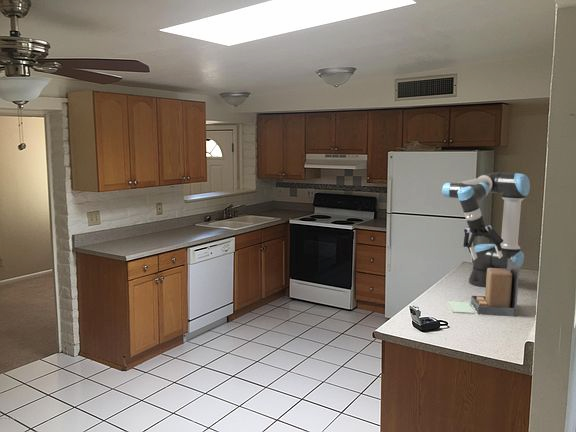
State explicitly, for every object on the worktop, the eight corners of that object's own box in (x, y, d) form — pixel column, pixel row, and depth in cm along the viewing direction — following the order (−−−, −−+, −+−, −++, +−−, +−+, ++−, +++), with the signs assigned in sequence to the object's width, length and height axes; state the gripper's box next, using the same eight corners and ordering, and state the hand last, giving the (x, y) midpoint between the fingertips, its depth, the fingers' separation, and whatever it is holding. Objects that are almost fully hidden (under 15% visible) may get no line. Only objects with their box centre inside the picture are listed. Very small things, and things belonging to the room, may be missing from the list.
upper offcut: (476, 301, 253) (476, 296, 253) (482, 301, 252) (483, 296, 252) (480, 308, 242) (480, 303, 242) (486, 308, 242) (487, 303, 241)
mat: (447, 302, 257) (447, 301, 257) (468, 303, 256) (468, 302, 256) (453, 312, 242) (453, 311, 242) (474, 313, 240) (474, 312, 240)
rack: (470, 303, 256) (473, 257, 252) (506, 304, 254) (509, 258, 250) (478, 314, 239) (481, 265, 236) (515, 316, 237) (519, 267, 233)
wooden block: (509, 314, 240) (512, 273, 237) (487, 312, 242) (490, 272, 239) (505, 307, 250) (508, 268, 247) (484, 305, 252) (486, 267, 249)
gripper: (448, 223, 251) (461, 262, 253) (494, 217, 231) (508, 259, 234) (455, 218, 255) (469, 256, 258) (501, 211, 235) (515, 253, 238)
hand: (487, 257), depth 246 cm, fingers open, 13 cm apart
